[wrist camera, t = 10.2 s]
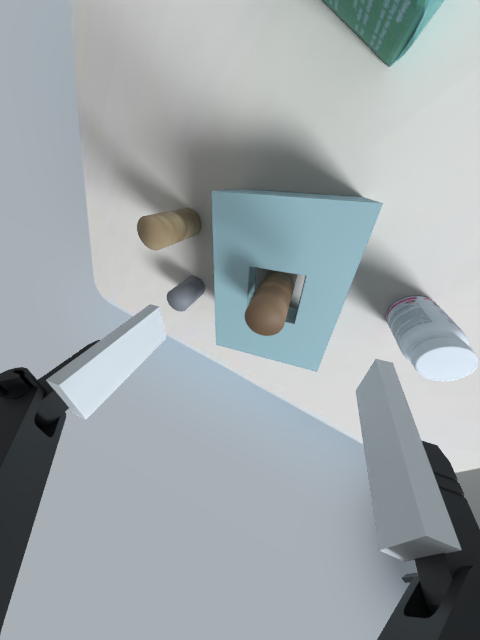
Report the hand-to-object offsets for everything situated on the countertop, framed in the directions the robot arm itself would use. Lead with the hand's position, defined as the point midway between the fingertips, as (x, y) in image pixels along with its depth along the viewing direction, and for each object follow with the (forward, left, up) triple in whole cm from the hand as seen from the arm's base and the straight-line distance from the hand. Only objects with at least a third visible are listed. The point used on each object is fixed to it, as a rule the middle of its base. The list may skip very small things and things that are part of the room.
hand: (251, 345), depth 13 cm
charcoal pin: (+5, -13, -16) cm, 21 cm away
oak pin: (-4, -13, -16) cm, 21 cm away
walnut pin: (0, 0, -16) cm, 16 cm away
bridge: (0, 0, -16) cm, 16 cm away
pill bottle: (+3, +15, -16) cm, 22 cm away
